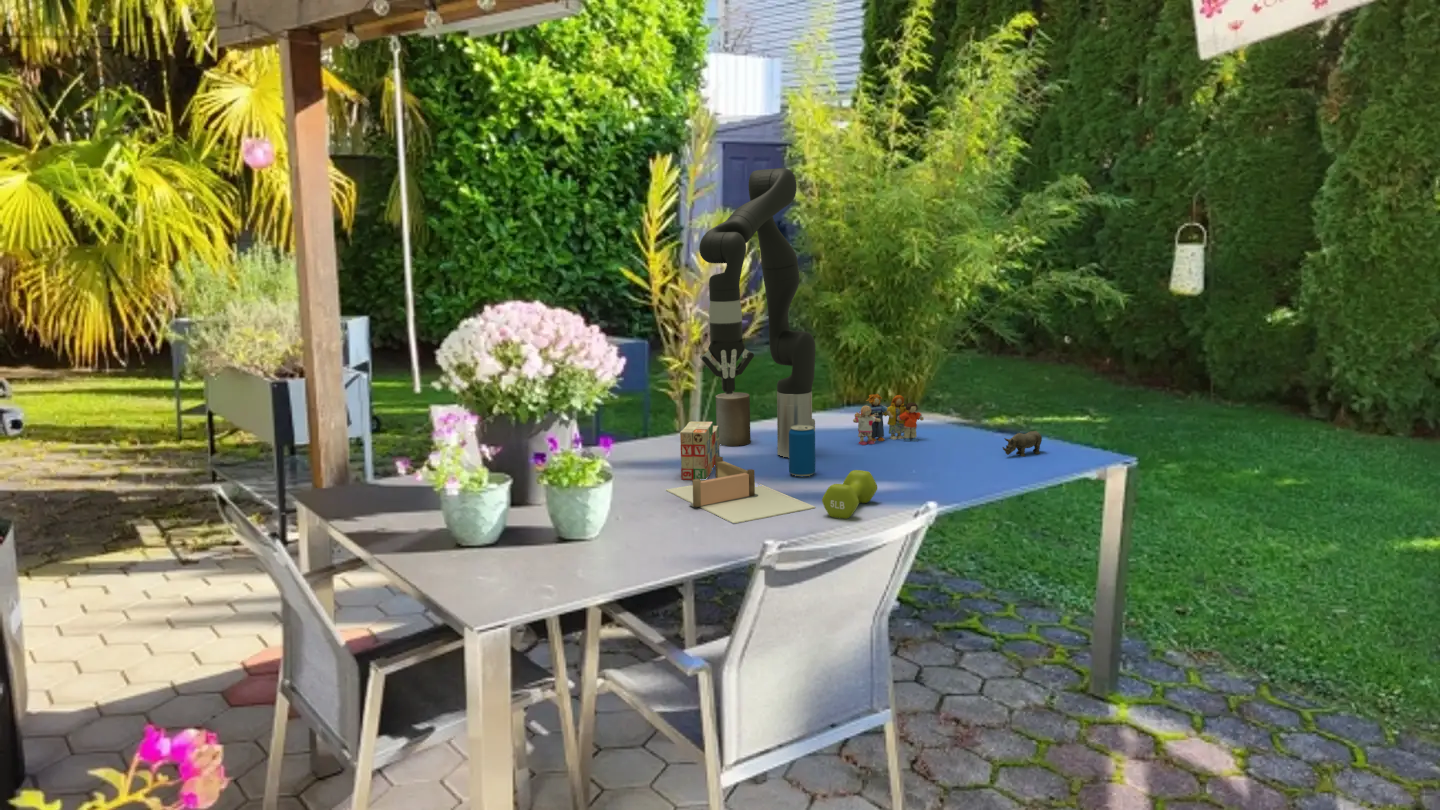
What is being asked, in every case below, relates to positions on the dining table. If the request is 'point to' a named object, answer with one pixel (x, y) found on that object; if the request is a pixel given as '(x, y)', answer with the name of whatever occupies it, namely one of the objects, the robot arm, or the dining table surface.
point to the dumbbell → (849, 494)
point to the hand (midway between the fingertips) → (728, 393)
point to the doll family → (898, 420)
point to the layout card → (748, 504)
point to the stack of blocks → (698, 449)
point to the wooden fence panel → (734, 472)
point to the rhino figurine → (1023, 443)
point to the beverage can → (802, 450)
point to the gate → (720, 489)
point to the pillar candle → (733, 418)
